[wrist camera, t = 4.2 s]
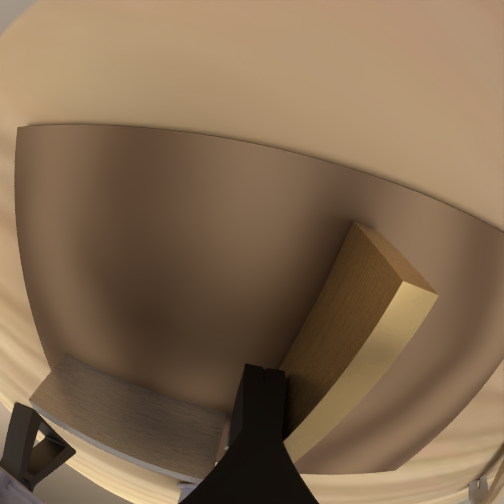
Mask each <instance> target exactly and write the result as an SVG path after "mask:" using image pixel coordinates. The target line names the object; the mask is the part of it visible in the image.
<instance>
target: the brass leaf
mask: <svg viewBox="0 0 504 504" xmlns="http://www.w3.org/2000/svg"><path fill="white" fill-rule="evenodd" d="M438 296H439V295H438V294H437V292H436V291H435V290H434V289H433V288H432V287H431V285H430V284H429V283H428V282H427V281H426V280H425V279H424V278H423V276H422V275H421V274H420V273H419V272H418V271H417V270H416V269H415V268H414V267H413V265H412V264H411V263H410V262H409V261H408V260H407V259H406V258H405V257H404V256H403V255H402V254H401V253H400V252H399V251H398V250H397V249H396V248H395V247H394V246H393V245H392V244H391V243H390V242H389V241H388V240H387V239H386V238H385V237H384V236H383V235H382V234H381V233H380V232H378V231H376V230H374V229H372V228H369V227H367V226H364V225H362V224H360V223H357V222H355V221H353V223H352V226H351V228H350V230H349V232H348V235H347V237H346V239H345V241H344V244H343V246H342V248H341V250H340V252H339V254H338V257H337V259H336V261H335V263H334V265H333V267H332V269H331V271H330V273H329V275H328V277H327V280H326V282H325V284H324V286H323V288H322V290H321V292H320V294H319V296H318V298H317V299H316V301H315V303H314V305H313V307H312V309H311V311H310V313H309V315H308V317H307V319H306V320H305V322H304V324H303V326H302V328H301V330H300V332H299V333H298V335H297V337H296V339H295V341H294V342H293V344H292V346H291V348H290V350H289V351H288V353H287V355H286V356H285V358H284V360H283V362H282V363H281V365H280V367H279V368H278V370H283V371H285V377H286V398H285V408H284V418H283V427H282V440H283V442H284V445H285V447H286V449H287V451H288V454H289V456H290V458H291V460H292V462H293V463H294V462H296V461H297V460H298V459H299V458H301V457H302V456H303V455H304V454H306V453H307V452H308V451H309V450H310V449H311V448H313V447H314V446H315V445H316V444H317V443H318V442H319V441H321V440H322V439H323V438H324V437H325V436H326V435H327V434H328V433H329V432H330V431H331V430H332V429H333V428H335V427H336V426H337V425H338V424H339V423H340V422H341V421H342V420H343V419H344V418H345V417H346V416H347V415H348V414H349V413H350V412H351V411H352V410H353V409H354V407H355V406H356V405H357V404H358V403H359V402H360V401H361V400H362V399H363V398H364V397H365V396H366V395H367V393H368V392H369V391H370V390H371V389H372V388H373V387H374V385H375V384H376V383H377V382H378V381H379V380H380V378H381V377H382V376H383V375H384V374H385V372H386V371H387V370H388V369H389V367H390V366H391V365H392V364H393V362H394V361H395V360H396V358H397V357H398V356H399V355H400V353H401V352H402V351H403V349H404V348H405V346H406V345H407V344H408V342H409V341H410V340H411V338H412V337H413V335H414V334H415V332H416V331H417V329H418V328H419V327H420V325H421V324H422V322H423V321H424V319H425V317H426V316H427V314H428V313H429V311H430V310H431V308H432V306H433V305H434V303H435V301H436V300H437V298H438ZM227 451H228V449H227V450H225V451H224V454H223V456H224V455H225V453H226V452H227Z"/></svg>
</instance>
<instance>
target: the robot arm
mask: <svg viewBox="0 0 504 504" xmlns="http://www.w3.org/2000/svg"><path fill="white" fill-rule="evenodd" d="M285 398H286V377H285V371H283V370H277V369H272V368H267V369H265V370H264V369H263V367H261V366H256V365H251V364H247V363H245V366H244V370H243V373H242V377H241V381H240V384H239V388H238V391H237V394H236V399H235V404H234V408H233V413H232V418H231V427H230V437H229V448H228V451H227V452H226V453H225V455H224V456H223V457H222V459H221V460H220V461H219V462H218V464H217V465H216V466H215V467H214V468H213V470H212V471H211V472H210V473H209V474H208V475H207V476H206V477H205V478H204V480H203V481H202V482H201V483H200V484H182V483H178V484H177V487H178V488H180V489H182V490H181V494H180V497H179V500H178V504H319V503H318V501H317V500H316V499H315V498H314V496H313V495H312V493H311V492H310V490H309V489H308V487H307V486H306V484H305V482H304V481H303V479H302V478H301V476H300V474H299V473H298V471H297V469H296V467H295V465H294V464H293V462H292V460H291V458H290V456H289V454H288V451H287V449H286V447H285V445H284V442H283V440H282V427H283V418H284V408H285ZM0 504H47V503H46V502H44V501H43V500H41V499H40V498H39V497H37V496H36V495H34V494H33V493H32V492H30V491H29V490H28V488H26V487H25V486H24V485H23V484H21V483H20V482H19V481H18V480H16V479H15V478H14V477H13V476H12V475H10V474H9V473H8V472H7V471H5V470H4V469H3V468H2V467H0Z"/></svg>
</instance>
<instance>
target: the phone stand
mask: <svg viewBox="0 0 504 504" xmlns="http://www.w3.org/2000/svg"><path fill="white" fill-rule="evenodd" d="M38 429H39V430H40V431H41V432H42V433H43V434H44V435H45V438H44V439H43V440H42V441H41V442H40V443H38V444H37V445H36V446H35V447H34V448H33V445H34V442H35V439H36V435H37V432H38ZM75 453H76V451H75V449H73V448H72V447H71V446H70V445H69V444H68V443H67V442H66V441H65V440H64V439H63V438H61V437H60V436H59V435H58V434H57V433H56V432H55V431H54V430H53V429H52V428H51V427H50V426H49V425H48V424H47V423H46V422H45V420H44V419H43V418H42V417H41V416H40V415H39V414H38V413H37V412H36V411H35V410H33V409H30V408H28V407H25V406H23V405H21V404H18V403H15V405H14V408H13V412H12V416H11V420H10V424H9V428H8V432H7V437H6V442H5V447H4V452H3V457H2V459H1V461H0V467H2V468H3V469H4V470H5V471H7V472H8V473H9V474H10V475H12V476H13V477H14V478H15V479H16V480H18V481H19V482H20V483H21V484H23V485H24V486H25V487H26V488H28V490H29V491H30V492H33V489H34V487H35V485H36V484H37V483H39V482H40V481H41V480H42V479H43V478H45V477H46V476H48V475H49V474H50V473H51V472H53V471H54V470H55V469H57V468H58V467H59V466H61V465H62V464H63V463H64V462H66V461H67V460H68V459H69V458H71V457H72V456H73V455H74V454H75Z"/></svg>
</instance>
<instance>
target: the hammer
mask: <svg viewBox="0 0 504 504" xmlns="http://www.w3.org/2000/svg"><path fill="white" fill-rule="evenodd" d="M503 497H504V460H503V462H502V464H501V466H500V468H499V470H498V472H497V475H496V477H495V479H494V481H493V483H492V485H491V487H490V489H489V491H488V484H487V474H486V475H484V476H482V477H480V481H479V488H478V486H477V480H475V481H473V482H471V483H470V484H469V500H470V503H471V504H499V502H500V501H501V499H502V498H503Z"/></svg>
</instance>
